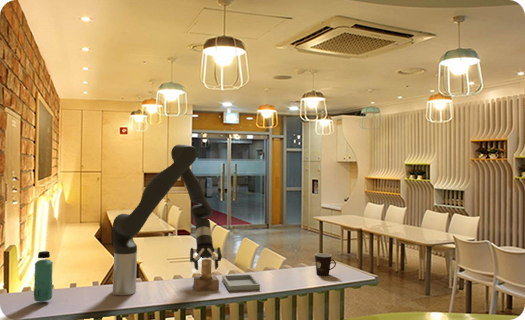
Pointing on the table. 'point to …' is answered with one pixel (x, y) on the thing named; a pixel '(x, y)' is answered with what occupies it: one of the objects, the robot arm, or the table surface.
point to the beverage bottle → (43, 278)
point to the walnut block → (206, 283)
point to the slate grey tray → (240, 282)
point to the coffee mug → (323, 264)
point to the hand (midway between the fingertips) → (206, 268)
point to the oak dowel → (206, 269)
